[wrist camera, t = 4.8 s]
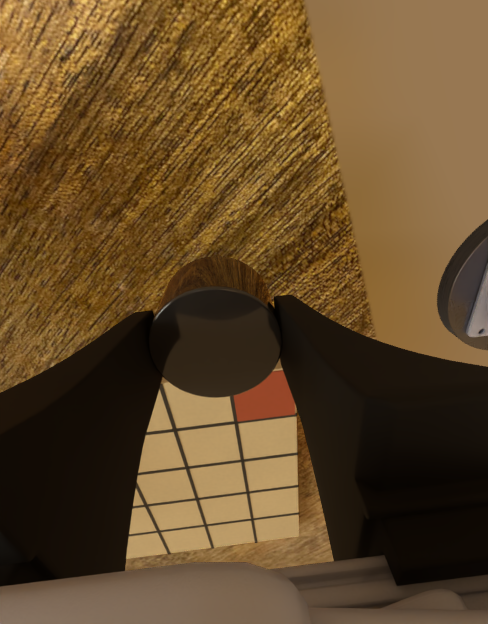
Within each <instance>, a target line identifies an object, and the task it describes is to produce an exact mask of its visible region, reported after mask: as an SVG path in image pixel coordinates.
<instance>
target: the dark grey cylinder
mask: <svg viewBox="0 0 488 624" xmlns="http://www.w3.org/2000/svg"><path fill="white" fill-rule="evenodd" d="M282 347H283V340H282V330H281V327H280V324H279V321H278V318H277V315H276V312H275V309H274V306H273V303H272V300H271V297H270V294H269V291H268V288H267V286H266V284H265V282H264V281H263V279H262V278H261V276H260V275H259V274H258V273H257V272H256V271H255V270H254V269H253V268H251V267H250V266H248V265H247V264H245V263H243V262H241V261H239V260H236V259H233V258H228V257H220V256H213V257H205V258H201V259H197V260H195V261H192V262H190V263H188V264H187V265H185V266H184V267H182V268H181V269H180V270H179V271H177V272H176V274H175V275H174V276H173V277H172V278H171V280H170V282H169V283H168V286H167V288H166V290H165V292H164V295H163V297H162V300H161V302H160V304H159V307H158V309H157V311H156V314H155V316H154V319H153V321H152V323H151V326H150V329H149V333H148V349H149V353H150V357H151V359H152V362H153V364H154V366H155V367H156V369H157V370H158V372H159V373H160V374H161V376H162V377H164V378H165V379H166V380H167V381H168V382H169V383H170V384H172V385H173V386H175V387H177V388H178V389H180V390H182V391H184V392H187V393H190V394H193V395H197V396H201V397H209V398H221V397H229V396H234V395H238V394H241V393H244V392H246V391H249V390H251V389H253V388H254V387H256V386H257V385H259V384H260V383H262V382H263V381H264V380H265V379H266V378H267V377H268V376H269V375H270V374H271V373H272V371H273V370H274V369H275V367H276V365H277V363H278V361H279V359H280V356H281V353H282Z"/></svg>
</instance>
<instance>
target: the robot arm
mask: <svg viewBox="0 0 488 624" xmlns="http://www.w3.org/2000/svg"><path fill="white" fill-rule="evenodd" d="M274 306H275V312H276V315H277V318H278V321H279V324H280V327H281V330H282V340H283V347H282V353H281V356H280V362H281V366H282V369H283V372H284V375H285V377H286V380H287V383H288V386H289V388H290V391H291V394H292V397H293V399H294V402H295V405H296V408H297V410H298V413H299V416H300V419H301V422H302V425H303V429H304V433H305V437H306V441H307V445H308V449H309V453H310V457H311V461H312V465H313V470H314V474H315V478H316V482H317V486H318V491H319V495H320V499H321V504H322V508H323V513H324V517H325V521H326V526H327V531H328V535H329V540H330V545H331V549H332V554H333V558H334V561H333V562H325V563H317V564H309V565H301V566H293V567H285V568H277V569H266V568H263V567H259V566H256V565H253V564H250V563H246V562H194V563H186V564H178V565H170V566H161V567H153V568H145V569H137V570H129V571H125V564H126V555H127V546H128V539H129V531H130V524H131V516H132V509H133V502H134V496H135V490H136V483H137V477H138V471H139V466H140V460H141V455H142V449H143V444H144V440H145V436H146V433H147V429H148V426H149V422H150V419H151V416H152V412H153V409H154V406H155V402H156V399H157V396H158V392H159V389H160V385H161V382H162V376H161V374H160V373H159V372H158V370H157V369H156V367H155V366H154V364H153V362H152V359H151V357H150V353H149V349H148V333H149V329H150V326H151V323H152V321H153V319H154V314H153V311H143V312H135V313H133V314H132V315H130V316H128V317H127V318H125V319H124V320H122V321H121V322H119V323H118V324H117V325H115V326H114V327H112V328H111V329H110V330H108V331H107V332H105V333H104V334H103V335H101V336H100V337H98V338H97V339H96V340H94V341H93V342H91V343H90V344H88V345H87V346H85V347H84V348H82V349H80V350H79V351H77V352H76V353H74V354H73V355H71V356H70V357H68V358H67V359H65V360H63V361H62V362H60V363H58V364H56V365H55V366H53V367H51V368H49V369H47V370H46V371H44V372H42V373H40V374H38V375H36V376H35V377H33V378H31V379H29V380H26V381H24V382H22V383H20V384H18V385H16V386H14V387H12V388H10V389H8V390H5V391H3V392H1V393H0V624H488V367H485V366H479V365H473V364H467V363H462V362H456V361H450V360H445V359H441V358H437V357H432V356H428V355H424V354H419V353H416V352H412V351H408V350H405V349H401V348H398V347H395V346H392V345H389V344H385V343H382V342H380V341H377V340H374V339H372V338H369V337H367V336H364V335H362V334H359V333H357V332H355V331H352V330H350V329H348V328H346V327H344V326H342V325H340V324H338V323H336V322H334V321H332V320H331V319H329V318H327V317H325V316H324V315H322V314H320V313H319V312H317V311H315V310H314V309H312V308H311V307H309V306H308V305H306V304H305V303H303V302H302V301H300V300H299V299H297V298H296V297H294V296H292V295H283V296H274ZM479 330H480V331H479ZM466 334H467V335H468V336H470V337H480V336H488V263H487V266H486V269H485V272H484V275H483V279H482V282H481V285H480V288H479V291H478V294H477V298H476V301H475V304H474V307H473V310H472V313H471V316H470V320H469V323H468V326H467V329H466Z"/></svg>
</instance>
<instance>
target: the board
mask: <svg viewBox="0 0 488 624" xmlns="http://www.w3.org/2000/svg"><path fill="white" fill-rule="evenodd" d="M297 455H298V452H297V411H296V405H295V402H294V399H293V397H292V394H291V391H290V388H289V386H288V383H287V380H286V377H285V375H284V372H283V369H282V366H281V362H280V359H279V361H278V363H277V365H276V367H275V369H274V370H273V371H272V373H271V374H270V375H269V376H268V377H267V378H266V379H265V380H264V381H263V382H262V383H260V384H259V385H257V386H256V387H254V388H253V389H251V390H249V391H246V392H244V393H241V394H238V395H234V396H229V397H221V398H209V397H201V396H197V395H193V394H190V393H187V392H184V391H182V390H180V389H178V388H177V387H175V386H173V385H172V384H170V383H169V382H168V381H167V380H166V379H165V378H164V377H162V382H161V385H160V389H159V392H158V396H157V399H156V402H155V406H154V409H153V412H152V416H151V419H150V422H149V426H148V429H147V433H146V436H145V440H144V444H143V449H142V455H141V460H140V466H139V471H138V477H137V483H136V490H135V496H134V502H133V509H132V516H131V524H130V531H129V539H128V546H127V555H126V559H129V558H137V557H144V556H152V555H160V554H167V553H168V554H171V553H175V552H183V551H190V550H198V549H206V548H214V547H221V546H229V545H236V544H244V543H252V542H255V543H258V542H259V541H267V540H275V539H282V538H290V537H298V536H299V503H298V457H297Z"/></svg>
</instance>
